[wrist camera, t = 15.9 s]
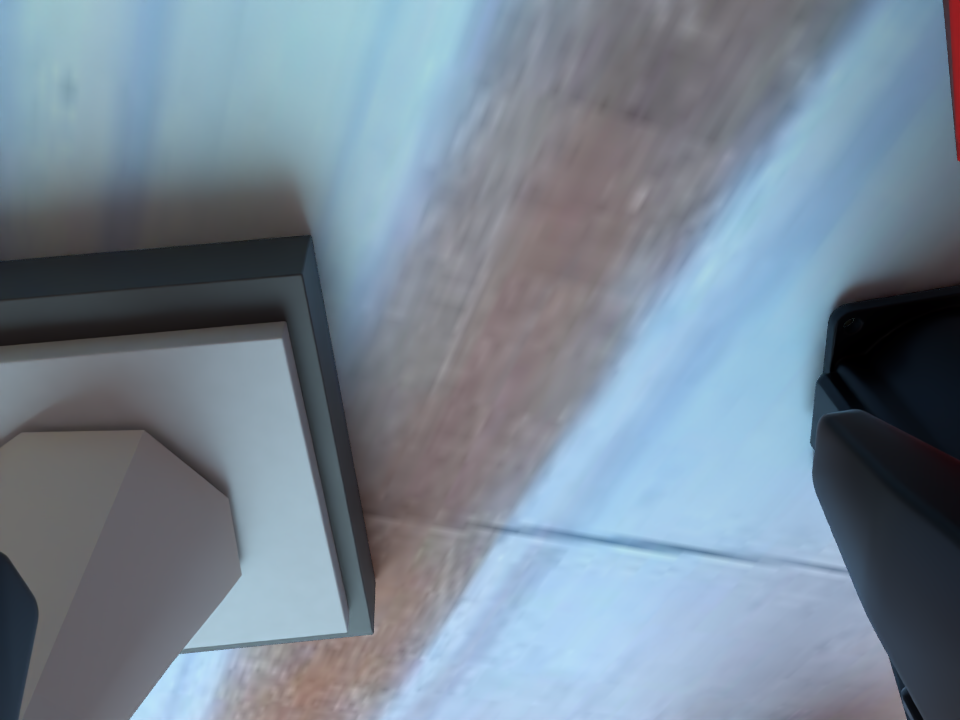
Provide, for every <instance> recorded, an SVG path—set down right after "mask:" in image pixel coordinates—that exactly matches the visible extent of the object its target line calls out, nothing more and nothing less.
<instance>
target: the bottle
mask: <svg viewBox="0 0 960 720" xmlns="http://www.w3.org/2000/svg"><path fill="white" fill-rule="evenodd" d="M943 7H944V18H945V29H946V40H947V51H948V62H949V73H950V85H951V96H952V107H953V118H954V129H955V140H956V151H957V160H958V161H959V162H960V0H943Z"/></svg>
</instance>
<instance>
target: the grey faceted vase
mask: <svg viewBox="0 0 960 720" xmlns="http://www.w3.org/2000/svg"><path fill="white" fill-rule="evenodd" d="M0 552H2V553H4V554H5V555H7V556H8V558H9V559H10V560H11V562H12V563H13V565H14V566H15V568H16V569H17V571H18V572H19V574H20V575H21V577H22V578H23V580H24V581H25V583H26V584H27V586H28V587H29V589H30V590H31V592H32V593H33V595H34V597H35V598H36V601H37V604H38V610H39V618H38V625H37V630H36V635H35V640H34V645H33V650H32V655H31V660H30V665H29V670H28V675H27V680H26V685H25V690H24V695H23V700H22V705H21V710H20V715H19V720H129V719H130V718H131V717H132V715H133V714H134V713H135V711H136V710H137V709H138V707H139V706H140V705H141V703H142V702H143V701H144V699H145V698H146V697H147V695H148V694H149V693H150V691H151V690H152V689H153V687H154V686H155V685H156V683H157V682H158V681H159V679H160V678H161V677H162V675H163V674H164V673H165V671H166V670H167V669H168V667H169V666H170V665H171V663H172V662H173V661H174V660H175V658H176V657H177V656H178V655H179V654H180V652H181V651H182V650H183V649H184V647H185V646H186V645H187V644H188V642H189V641H190V640H191V639H192V638H193V636H194V635H195V634H196V633H197V631H198V630H199V629H200V628H201V627H202V625H203V624H204V623H205V622H206V620H207V619H208V618H209V617H210V615H211V614H212V613H213V612H214V611H215V609H216V608H217V607H218V606H219V604H220V603H221V602H222V601H223V599H224V598H225V597H226V596H227V594H228V593H229V592H230V590H231V589H232V588H233V586H234V585H235V584H236V582H237V581H238V580H239V578H240V577H241V576H242V573H241V567H240V561H239V556H238V550H237V544H236V538H235V533H234V527H233V521H232V516H231V510H230V504H229V498H227V497H226V496H225V495H224V494H222V493H221V492H220V491H219V490H217V489H216V488H215V487H214V486H213V485H211V484H210V483H209V482H208V481H206V480H205V479H204V478H203V477H201V476H200V475H199V474H198V473H196V472H195V471H194V470H193V469H192V468H190V467H189V466H188V465H187V464H185V463H184V462H183V461H182V460H180V459H179V458H178V457H177V456H175V455H174V454H173V453H172V452H171V451H169V450H168V449H167V448H166V447H164V446H163V445H162V444H161V443H159V442H158V441H157V440H156V439H155V438H153V437H152V436H151V435H150V434H148V433H147V432H146V431H145V430H121V431H69V432H21V433H20V434H18V435H17V436H16V437H14V438H13V439H12V440H10V441H9V442H7V443H6V444H5V445H3V446H2V447H1V448H0Z"/></svg>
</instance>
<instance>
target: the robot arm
mask: <svg viewBox="0 0 960 720" xmlns="http://www.w3.org/2000/svg"><path fill="white" fill-rule="evenodd" d="M852 318H854V321H853V322H852V323H851V324H850V325H848V326H845V327H843V326H844V324H845V323H846V322H847V321H848V320H850V319H852ZM810 443H811V446H812V447H813V449H814V459H813V469H812V477H813V484H814V488H815V491H816V494H817V497H818V499H819V502H820V504H821V506H822V509H823V511H824V514H825V516H826V519H827V521H828V524H829V526H830V528H831V531H832V533H833V536H834V538H835V541H836V543H837V545H838V548H839V550H840V553H841V555H842V558H843V560H844V562H845V565H846V567H847V570H848V572H849V575H850V577H851V579H852V582H853V584H854V587H855V589H856V592H857V594H858V596H859V599H860V601H861V603H862V605H863V608H864V610H865V612H866V615H867V617H868V618H869V620H870V622H871V624H872V626H873V628H874V630H875V632H876V634H877V636H878V638H879V640H880V641H881V643H882V645H883V647H884V649H885V650H886V652H887V654H888V656H889V659H890V662H891V666H892V669H893V673H894V676H895V680H896V683H897V686H898V690H899V693H900V697H901V700H902V704H903V707H904V711H905V714H906V718H907V720H960V286H953V287H947V288H941V289H935V290H929V291H923V292H917V293H911V294H905V295H899V296H893V297H887V298H880V299H874V300H868V301H862V302H856V303H850V304H846V305H843V306H840V307H839V308H837V309H836V310H835V311H834V312H833V313H832V314H831V316H830V318H829V321H828V330H827V340H826V349H825V359H824V368H823V374H821V375H820V377H819V379H818V380H817V382H816V389H815V399H814V409H813V419H812V429H811V439H810ZM38 618H39V610H38V604H37V601H36V598H35V597H34V595H33V593H32V592H31V590H30V589H29V587H28V586H27V584H26V583H25V581H24V580H23V578H22V577H21V575H20V574H19V572H18V571H17V569H16V568H15V566H14V565H13V563H12V562H11V560H10V559H9V558H8V556H7V555H5V554H4V553H2V552H0V720H19V715H20V710H21V705H22V700H23V695H24V690H25V685H26V680H27V675H28V670H29V665H30V660H31V655H32V650H33V645H34V640H35V635H36V630H37V625H38Z"/></svg>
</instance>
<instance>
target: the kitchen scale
mask: <svg viewBox="0 0 960 720" xmlns="http://www.w3.org/2000/svg"><path fill="white" fill-rule="evenodd" d="M121 430H145V431H146V432H147V433H148V434H150V435H151V436H152V437H153V438H155V439H156V440H157V441H158V442H159V443H161V444H162V445H163V446H164V447H166V448H167V449H168V450H169V451H171V452H172V453H173V454H174V455H175V456H177V457H178V458H179V459H180V460H182V461H183V462H184V463H185V464H187V465H188V466H189V467H190V468H192V469H193V470H194V471H195V472H196V473H198V474H199V475H200V476H201V477H203V478H204V479H205V480H206V481H208V482H209V483H210V484H211V485H213V486H214V487H215V488H216V489H217V490H219V491H220V492H221V493H222V494H224V495H225V496H226V497H227V498H229V504H230V510H231V516H232V521H233V527H234V533H235V538H236V544H237V550H238V556H239V561H240V567H241V573H242V576H241V577H240V578H239V580H238V581H237V582H236V584H235V585H234V586H233V588H232V589H231V590H230V592H229V593H228V594H227V596H226V597H225V598H224V599H223V601H222V602H221V603H220V604H219V606H218V607H217V608H216V609H215V611H214V612H213V613H212V614H211V615H210V617H209V618H208V619H207V620H206V622H205V623H204V624H203V625H202V627H201V628H200V629H199V630H198V631H197V633H196V634H195V635H194V636H193V638H192V639H191V640H190V641H189V642H188V644H187V645H186V646H185V647H184V649H183V650H182V651H181V652H180V654H184V653H194V652H204V651H214V650H223V649H233V648H243V647H253V646H263V645H273V644H283V643H293V642H303V641H313V640H322V639H332V638H342V637H352V636H362V635H372V634H373V633H374V611H375V584H376V582H375V577H374V571H373V566H372V560H371V555H370V550H369V544H368V539H367V533H366V528H365V523H364V517H363V512H362V506H361V501H360V496H359V490H358V485H357V479H356V474H355V469H354V463H353V458H352V452H351V447H350V442H349V436H348V431H347V426H346V420H345V415H344V409H343V404H342V399H341V393H340V388H339V382H338V377H337V372H336V366H335V361H334V355H333V350H332V345H331V339H330V334H329V328H328V323H327V318H326V312H325V307H324V301H323V296H322V291H321V285H320V280H319V274H318V269H317V264H316V258H315V253H314V248H313V242H312V237H311V236H310V235H308V236H296V237H284V238H273V239H261V240H249V241H237V242H226V243H214V244H202V245H190V246H178V247H167V248H155V249H143V250H131V251H120V252H108V253H96V254H84V255H73V256H61V257H49V258H37V259H26V260H14V261H2V262H0V448H1V447H2V446H3V445H5V444H6V443H7V442H9V441H10V440H12V439H13V438H14V437H16V436H17V435H18V434H20V433H21V432H69V431H121Z"/></svg>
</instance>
